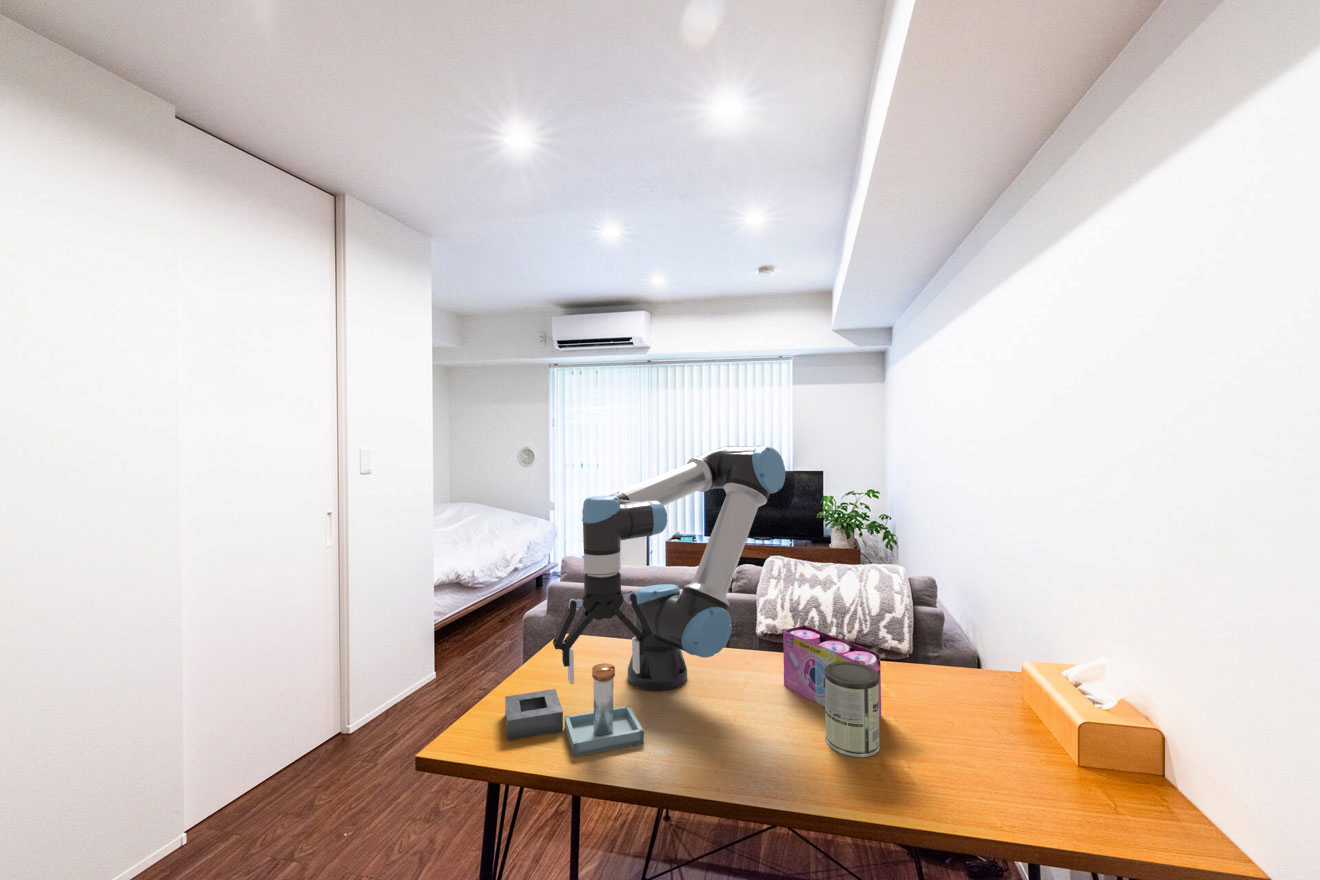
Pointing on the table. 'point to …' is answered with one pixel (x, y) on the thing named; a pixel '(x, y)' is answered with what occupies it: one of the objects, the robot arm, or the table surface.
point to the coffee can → (852, 709)
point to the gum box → (819, 660)
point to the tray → (587, 742)
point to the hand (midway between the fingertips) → (604, 676)
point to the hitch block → (533, 714)
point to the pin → (603, 698)
